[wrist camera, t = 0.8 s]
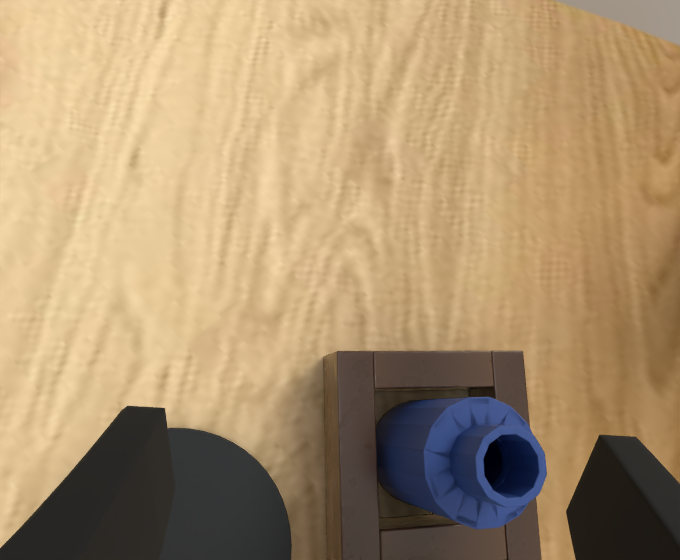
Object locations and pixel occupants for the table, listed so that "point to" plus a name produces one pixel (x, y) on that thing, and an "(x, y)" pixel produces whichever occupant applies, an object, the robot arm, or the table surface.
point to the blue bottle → (460, 459)
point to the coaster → (222, 503)
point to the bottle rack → (361, 458)
